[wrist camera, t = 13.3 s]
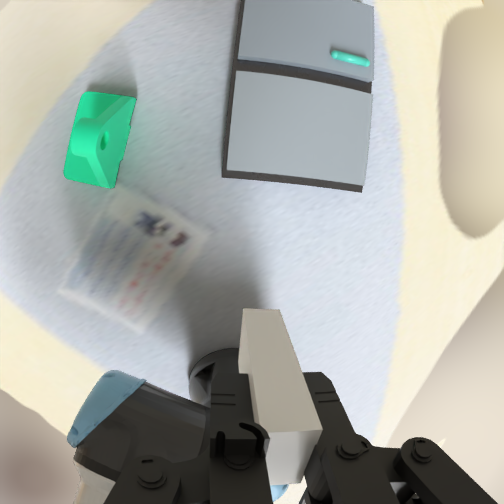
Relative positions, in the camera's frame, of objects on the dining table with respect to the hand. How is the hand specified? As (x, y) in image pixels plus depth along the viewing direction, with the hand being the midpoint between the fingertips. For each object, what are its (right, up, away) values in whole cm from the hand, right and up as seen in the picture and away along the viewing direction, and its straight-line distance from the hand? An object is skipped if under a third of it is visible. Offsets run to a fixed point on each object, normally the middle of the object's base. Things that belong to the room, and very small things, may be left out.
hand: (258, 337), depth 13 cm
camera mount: (-20, +19, +24) cm, 36 cm away
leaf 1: (+7, +32, +18) cm, 37 cm away
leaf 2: (+6, +19, +22) cm, 30 cm away
